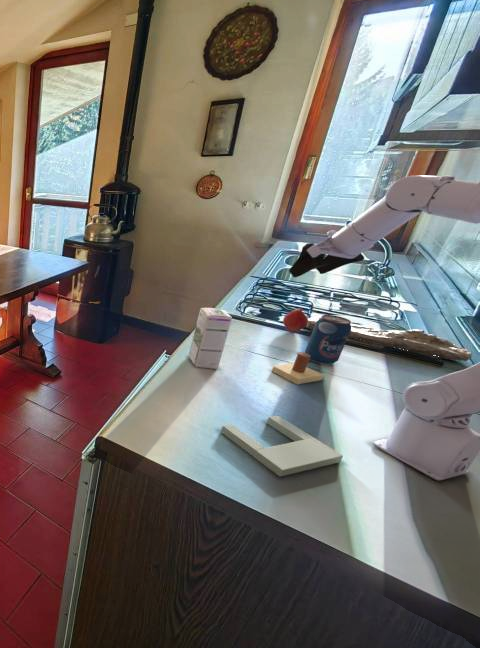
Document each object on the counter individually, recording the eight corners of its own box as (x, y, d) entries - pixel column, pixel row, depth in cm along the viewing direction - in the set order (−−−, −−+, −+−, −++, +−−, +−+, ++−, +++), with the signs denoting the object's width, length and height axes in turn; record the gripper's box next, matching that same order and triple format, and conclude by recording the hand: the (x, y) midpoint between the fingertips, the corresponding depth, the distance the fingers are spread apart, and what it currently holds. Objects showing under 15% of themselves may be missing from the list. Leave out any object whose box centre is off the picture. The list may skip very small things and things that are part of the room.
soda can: (318, 365, 102) (335, 324, 97) (296, 353, 108) (312, 313, 103) (343, 365, 102) (362, 324, 97) (320, 353, 108) (337, 313, 104)
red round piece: (275, 329, 123) (284, 306, 120) (286, 326, 126) (294, 303, 122) (296, 337, 118) (305, 312, 115) (306, 333, 121) (316, 310, 118)
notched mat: (339, 462, 69) (343, 455, 69) (279, 476, 66) (282, 470, 65) (275, 421, 80) (277, 415, 79) (220, 431, 76) (222, 425, 76)
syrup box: (218, 369, 99) (234, 317, 94) (193, 366, 100) (207, 314, 95) (210, 359, 104) (225, 308, 99) (186, 356, 105) (199, 306, 100)
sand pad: (321, 380, 95) (330, 358, 93) (296, 384, 93) (305, 362, 91) (295, 367, 101) (303, 346, 98) (271, 371, 99) (279, 350, 96)
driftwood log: (303, 325, 130) (300, 335, 124) (307, 310, 128) (304, 320, 122) (464, 353, 108) (471, 368, 102) (473, 336, 106) (481, 350, 99)
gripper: (379, 212, 79) (319, 255, 91) (324, 217, 76) (269, 261, 88) (405, 238, 76) (339, 279, 87) (349, 244, 73) (288, 286, 84)
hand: (305, 272), depth 87 cm, fingers open, 7 cm apart
